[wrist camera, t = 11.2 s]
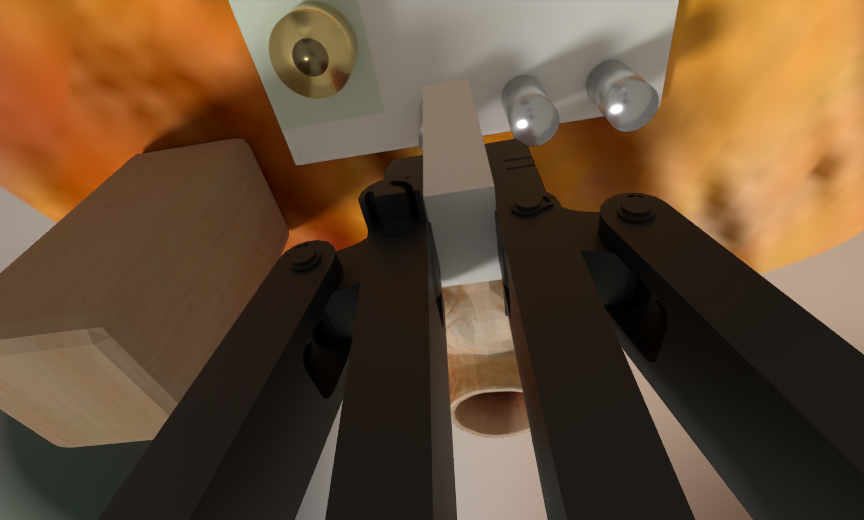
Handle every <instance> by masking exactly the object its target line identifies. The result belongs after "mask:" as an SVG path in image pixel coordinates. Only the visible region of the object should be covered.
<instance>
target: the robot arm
mask: <svg viewBox="0 0 864 520" xmlns="http://www.w3.org/2000/svg"><path fill="white" fill-rule="evenodd" d="M358 201H359V204H360V207H361V210H362V213H363V216H364V219H365V222H366V225H367V228H368V235H367V238H366V239H364V240H363V241H361V242H359V243H357V244H355V245H353V246H350V247H347V248H345V249H342V250H339V251H337V252H336V251H335V248H334V246H333V245H331V244H330V243H328V242H326V241H320V240H315V241H307V242H304V243H301V244H298V245H296V246H294V247H292V248H291V249H289V250H288V251H286V252H285V253H284V254H283V255H282V256H281V257H280V258H279V259H278V261H277V262H276V264H275V265H274V266H273V268H272V269H271V271H270V272H269V274H268V275H267V277H266V278H265V279H264V281H263V282H262V284H261V285H260V287H259V288H258V289H257V291H256V292H255V294H254V295H253V297H252V298H251V300H250V301H249V302H248V304H247V305H246V307H245V308H244V310H243V311H242V312H241V314H240V315H239V317H238V318H237V320H236V321H235V323H234V324H233V325H232V327H231V328H230V330H229V331H228V333H227V334H226V336H225V337H224V338H223V340H222V341H221V343H220V344H219V346H218V347H217V348H216V350H215V351H214V353H213V354H212V356H211V357H210V359H209V360H208V361H207V363H206V364H205V366H204V367H203V369H202V370H201V371H200V373H199V374H198V376H197V377H196V379H195V380H194V382H193V383H192V384H191V386H190V387H189V389H188V390H187V392H186V393H185V395H184V396H183V397H182V399H181V400H180V402H179V403H178V405H177V406H176V407H175V409H174V410H173V412H172V413H171V415H170V416H169V418H168V419H167V420H166V422H165V423H164V425H163V426H162V428H161V429H160V430H159V432H158V433H157V435H156V436H155V438H154V439H153V441H152V442H151V443H150V445H149V446H148V448H147V449H146V451H145V452H144V454H143V455H142V456H141V458H140V459H139V461H138V462H137V464H136V465H135V466H134V468H133V469H132V471H131V472H130V474H129V475H128V477H127V478H126V479H125V481H124V482H123V484H122V485H121V487H120V488H119V490H118V491H117V492H116V494H115V495H114V497H113V498H112V500H111V501H110V502H109V504H108V505H107V507H106V508H105V510H104V511H103V513H102V514H101V515H100V517H99V518H98V520H295V518H296V515H297V513H298V510H299V508H300V505H301V502H302V500H303V497H304V495H305V493H306V490H307V488H308V485H309V483H310V480H311V477H312V475H313V473H314V470H315V468H316V465H317V462H318V460H319V458H320V455H321V453H322V450H323V447H324V445H325V442H326V440H327V437H328V435H329V432H330V430H331V427H332V425H333V422H334V420H335V417H336V415H337V412H338V410H339V407H340V405H341V402H342V400H343V404H342V410H341V418H340V424H339V431H338V438H337V444H336V452H335V458H334V465H333V471H332V478H331V484H330V491H329V498H328V505H327V511H326V518H325V520H457V511H456V510H457V509H456V493H455V476H454V458H453V442H452V424H451V407H450V390H449V373H448V356H447V339H446V322H445V305H444V299H443V294H442V289H441V283H442V287H447V286H454V285H462V284H470V283H477V282H485V281H493V280H500V279H502V280H503V293H504V305H505V316H508V319H509V325H510V330H511V335H512V340H513V345H514V350H515V355H516V360H517V365H518V370H519V375H520V381H521V386H522V391H523V396H524V401H525V406H526V411H527V416H528V421H529V426H530V431H531V436H532V442H533V447H534V451H535V457H536V461H537V467H538V472H539V477H540V482H541V487H542V493H543V498H544V503H545V508H546V513H547V518H548V520H695V518H694V516H693V513H692V511H691V509H690V506H689V504H688V502H687V499H686V497H685V494H684V492H683V490H682V487H681V485H680V483H679V481H678V478H677V476H676V474H675V471H674V469H673V466H672V464H671V462H670V459H669V457H668V455H667V453H666V450H665V448H664V446H663V443H662V441H661V438H660V436H659V434H658V431H657V429H656V427H655V424H654V422H653V420H652V417H651V415H650V413H649V410H648V408H647V406H646V404H645V401H644V399H643V396H642V394H641V392H640V389H639V387H638V385H637V382H636V380H635V378H634V375H633V373H632V371H631V369H630V366H629V364H628V361H627V359H626V357H625V354H624V352H623V350H624V351H625V352H626V354H627V355H628V356H629V358H630V359H631V360H632V362H633V363H634V364H635V365H636V367H637V368H638V369H639V371H640V372H641V373H642V375H643V376H644V377H645V379H646V380H647V381H648V382H649V384H650V385H651V386H652V388H653V389H654V390H655V392H656V393H657V394H658V396H659V397H660V398H661V400H662V401H663V402H664V403H665V405H666V406H667V407H668V409H669V410H670V411H671V413H672V414H673V415H674V417H675V418H676V419H677V420H678V422H679V423H680V424H681V426H682V427H683V428H684V430H685V431H686V432H687V433H688V435H689V436H690V437H691V439H692V440H693V441H694V443H695V444H696V445H697V447H698V448H699V449H700V451H701V452H702V453H703V455H704V456H705V457H706V458H707V460H708V461H709V462H710V464H711V465H712V466H713V467H714V469H715V470H716V471H717V473H718V474H719V475H720V477H721V478H722V479H723V481H724V482H725V483H726V485H727V486H728V487H729V489H730V490H731V491H732V492H733V494H734V495H735V496H736V498H737V499H738V500H739V502H740V503H741V504H742V505H743V507H744V508H745V509H746V511H747V512H748V513H749V515H750V516H751V517H752V519H753V520H864V355H863V354H862V353H861V352H859V351H858V350H857V349H856V348H854V347H853V346H852V345H850V344H849V343H848V342H847V341H845V340H844V339H843V338H841V337H840V336H839V335H837V334H836V333H835V332H834V331H832V330H831V329H830V328H828V327H827V326H826V325H824V324H823V323H822V322H821V321H819V320H818V319H817V318H815V317H814V316H813V315H811V314H810V313H809V312H808V311H806V310H805V309H804V308H802V307H801V306H800V305H799V304H797V303H796V302H794V301H793V300H792V299H791V298H789V297H788V296H787V295H785V294H784V293H783V292H781V291H780V290H779V289H778V288H776V287H775V286H774V285H773V284H771V283H770V282H769V281H767V280H766V279H765V278H763V277H762V276H761V275H760V274H758V273H757V272H756V271H754V270H753V269H752V268H750V267H749V266H748V265H747V264H745V263H744V262H743V261H741V260H740V259H739V258H737V257H736V256H735V255H734V254H732V253H731V252H730V251H728V250H727V249H726V248H725V247H723V246H722V245H721V244H719V243H718V242H717V241H715V240H714V239H713V238H712V237H710V236H709V235H708V234H706V233H705V232H704V231H702V230H701V229H700V228H699V227H697V226H696V225H695V224H693V223H692V222H691V221H689V220H688V219H687V218H686V217H684V216H683V215H682V214H680V213H679V212H678V211H676V210H675V209H674V208H673V207H671V206H670V205H669V204H667V203H666V202H664V201H662V200H661V199H659V198H657V197H654V196H650V195H646V194H642V193H626V194H620V195H615V196H613V197H611V198H609V199H607V200H606V201H605V202H604V203H603V204H602V205H601V209H600V213H599V212H582V211H574V210H569V209H566V208H563V207H561V205H560V202H559V201H558V200H557V199H556V197H555V196H554V195H552V194H550V193H548V192H546V190H545V187H544V185H543V182H542V180H541V178H540V175H539V173H538V170H537V168H536V166H535V163H534V160H533V158H532V155H531V153H530V150H529V148H528V146H527V145H525V144H524V143H522V142H521V141H519V140H518V139H512V140H506V141H499V142H493V143H487V144H484V141H483V137H482V133H481V129H480V125H479V120H478V116H477V112H476V108H475V104H474V100H473V96H472V91H471V87H470V83H469V79H468V78H466V79H460V80H454V81H449V82H443V83H437V84H432V85H426V86H423V155H421V156H415V157H408V158H402V159H396V160H393V161H392V162H391V163H390V164H389V166H388V167H387V168H386V169H385V173H384V180H381V181H378V182H376V183H374V184H372V185H370V186H368V187H367V188H366V189H365V190H364V191H363V192H361V194H360V196H359V198H358ZM622 348H623V350H622Z"/></svg>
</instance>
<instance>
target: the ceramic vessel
mask: <svg viewBox="0 0 864 520" xmlns="http://www.w3.org/2000/svg"><path fill="white" fill-rule="evenodd" d="M441 289H442V294H443V299H444V305H445V322H446V339H447V356H448V373H449V390H450V407H451V421H452V422H453V424H454V425H455V426H456V427H458V428H459V429H460V430H463V431H466V432H468V433H471V434H474V435H476V436H480V437H486V438H504V437H512V436H516V435H520V434H523V433H526V432H529V431H530V426H529V421H528V416H527V411H526V406H525V401H524V396H523V391H522V386H521V381H520V375H519V370H518V365H517V360H516V355H515V350H514V345H513V340H512V335H511V330H510V325H509V319H508V316H505V305H504V293H503V280H502V279H500V280H493V281H485V282H477V283H470V284H462V285H454V286H447V287H442V283H441Z"/></svg>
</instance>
